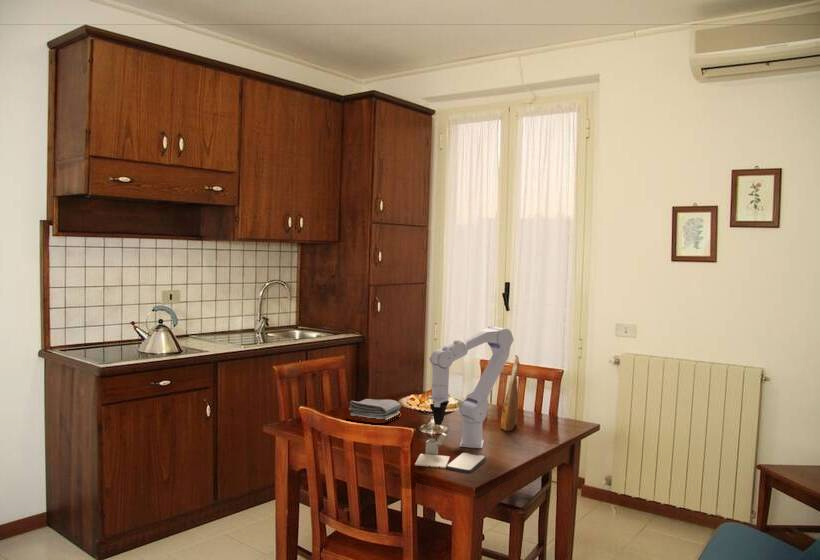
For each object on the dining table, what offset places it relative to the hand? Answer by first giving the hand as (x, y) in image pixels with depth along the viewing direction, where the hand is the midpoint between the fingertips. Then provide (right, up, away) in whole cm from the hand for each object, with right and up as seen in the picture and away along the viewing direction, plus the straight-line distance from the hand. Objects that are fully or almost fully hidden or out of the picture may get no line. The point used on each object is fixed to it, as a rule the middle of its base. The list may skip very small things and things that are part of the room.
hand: (438, 423), depth 222 cm
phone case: (+8, -11, -14) cm, 20 cm away
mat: (-3, -10, -12) cm, 16 cm away
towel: (-25, -8, +40) cm, 48 cm away
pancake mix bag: (+30, -9, +34) cm, 47 cm away
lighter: (-1, -10, -5) cm, 11 cm away
